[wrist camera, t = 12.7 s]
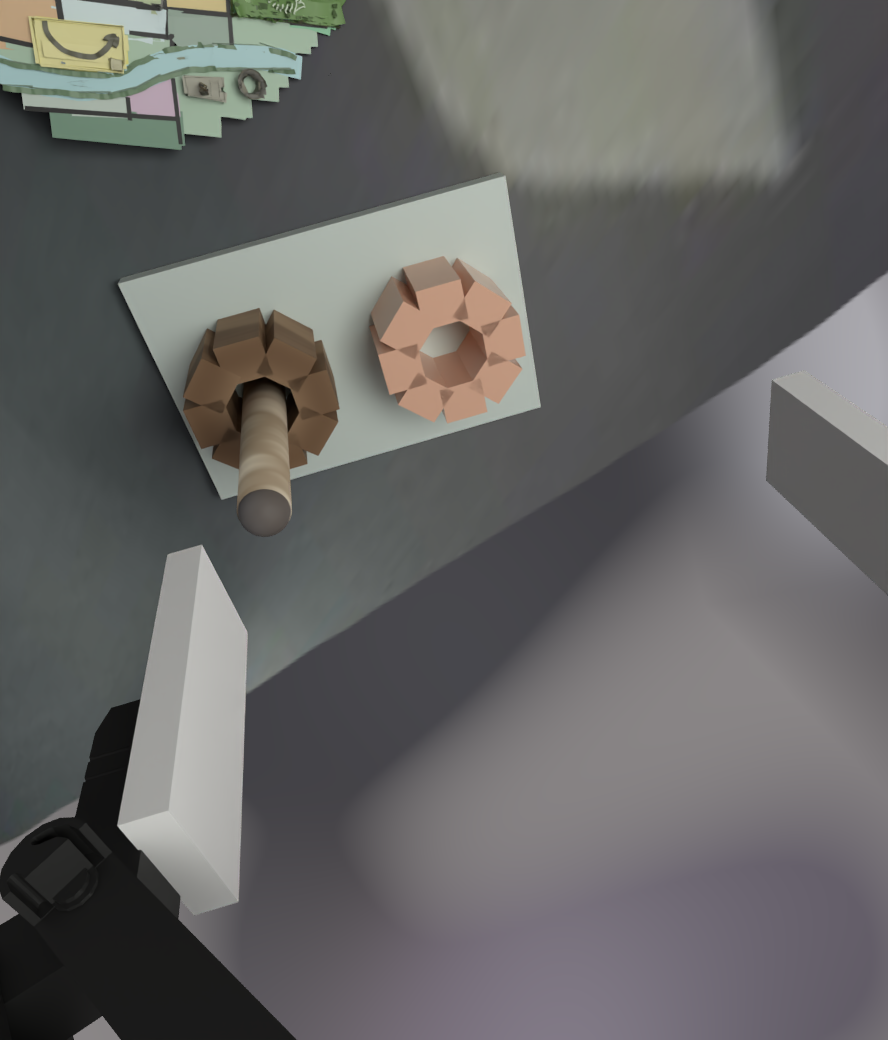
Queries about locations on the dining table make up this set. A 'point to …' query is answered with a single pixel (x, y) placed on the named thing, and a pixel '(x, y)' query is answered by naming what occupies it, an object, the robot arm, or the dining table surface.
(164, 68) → the city model
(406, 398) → the terracotta bead
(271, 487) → the wooden dowel rod
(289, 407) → the walnut bead
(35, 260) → the dining table surface
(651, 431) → the dining table surface
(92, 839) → the robot arm
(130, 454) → the dining table surface
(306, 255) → the board
